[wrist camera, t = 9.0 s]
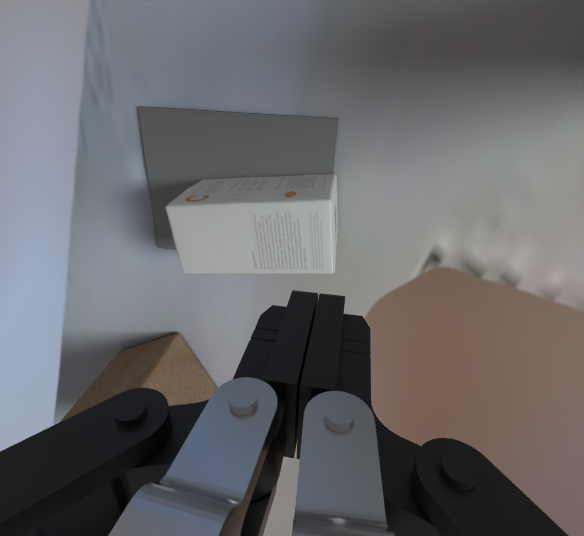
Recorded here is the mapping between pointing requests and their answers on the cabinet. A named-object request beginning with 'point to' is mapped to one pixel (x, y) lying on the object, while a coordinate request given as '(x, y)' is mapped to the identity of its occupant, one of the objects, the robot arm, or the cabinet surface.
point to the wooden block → (152, 374)
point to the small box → (257, 225)
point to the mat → (227, 151)
